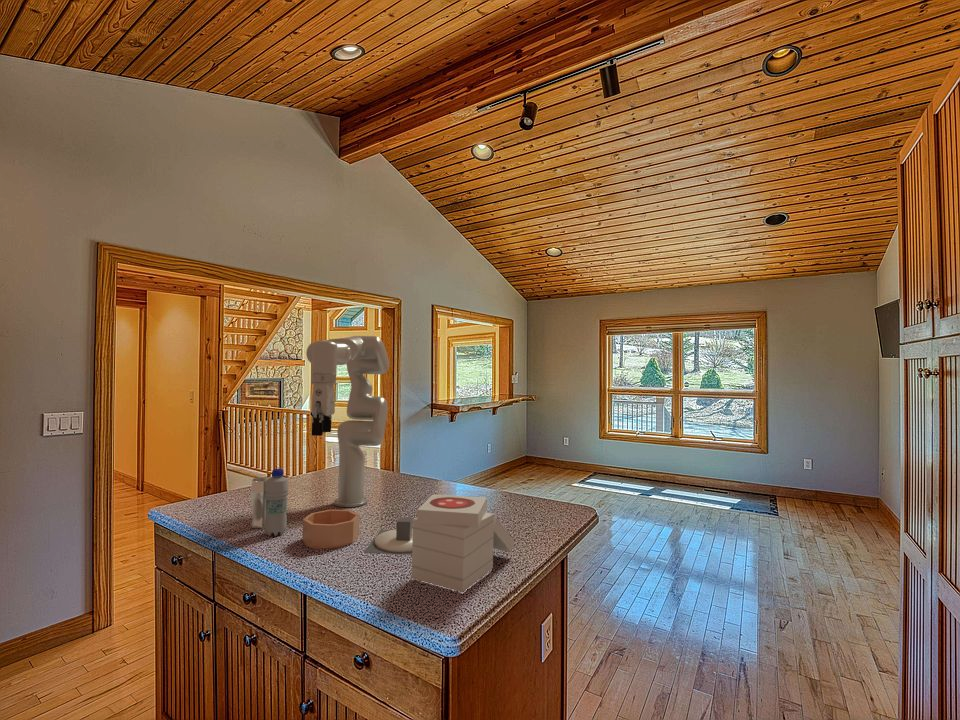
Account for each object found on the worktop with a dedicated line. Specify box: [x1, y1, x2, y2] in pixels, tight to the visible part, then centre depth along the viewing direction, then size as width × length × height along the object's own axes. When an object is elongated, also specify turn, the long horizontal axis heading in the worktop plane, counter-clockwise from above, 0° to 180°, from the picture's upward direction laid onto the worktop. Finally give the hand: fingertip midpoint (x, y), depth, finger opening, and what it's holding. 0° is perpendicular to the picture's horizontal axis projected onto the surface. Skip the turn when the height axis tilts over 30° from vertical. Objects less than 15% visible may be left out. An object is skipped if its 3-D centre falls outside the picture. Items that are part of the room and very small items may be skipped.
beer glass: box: [250, 476, 272, 529], centre depth 153 cm, size 7×7×15 cm
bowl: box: [301, 509, 361, 550], centre depth 141 cm, size 15×15×7 cm
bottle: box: [263, 468, 289, 537], centre depth 146 cm, size 7×7×20 cm
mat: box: [363, 529, 412, 556], centre depth 140 cm, size 19×19×1 cm
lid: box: [374, 516, 414, 553], centre depth 140 cm, size 17×17×6 cm
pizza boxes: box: [411, 493, 516, 592], centre depth 124 cm, size 19×30×18 cm, turn 151°
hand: (321, 433), depth 149 cm, fingers open, 9 cm apart
